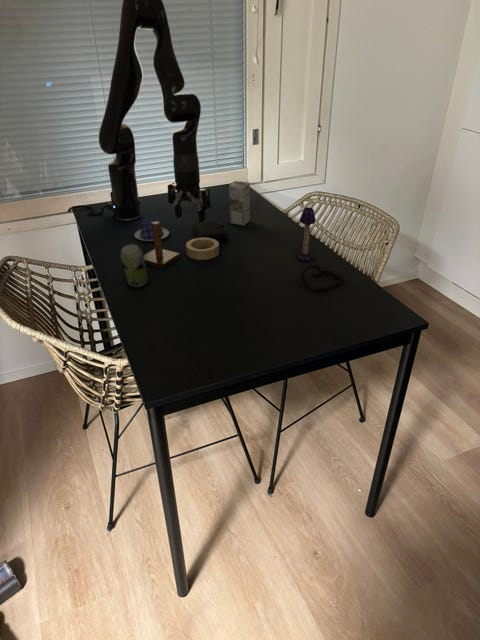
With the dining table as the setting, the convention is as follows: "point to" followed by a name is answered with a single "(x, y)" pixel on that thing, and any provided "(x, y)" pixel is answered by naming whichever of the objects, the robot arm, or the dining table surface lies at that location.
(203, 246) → the tape roll
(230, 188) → the syrup box
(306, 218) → the purple spotted mushroom
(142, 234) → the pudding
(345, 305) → the dining table surface
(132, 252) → the beverage can
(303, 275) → the metal loop
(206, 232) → the carrying case
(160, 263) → the peg stand
